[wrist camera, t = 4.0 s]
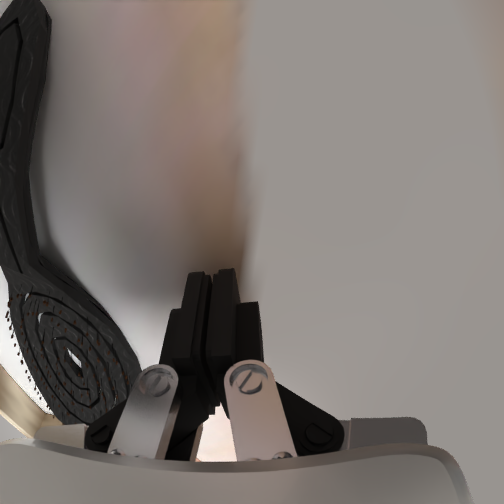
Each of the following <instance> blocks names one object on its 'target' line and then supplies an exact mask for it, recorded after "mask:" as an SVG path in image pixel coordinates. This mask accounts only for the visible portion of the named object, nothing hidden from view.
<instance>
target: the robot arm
mask: <svg viewBox="0 0 504 504" xmlns="http://www.w3.org/2000/svg"><path fill="white" fill-rule="evenodd" d="M220 402H221V404H222V406H223V409H224V411H225V413H226V416H227V418H228V419H230V423H231V429H232V435H233V441H234V446H235V452H236V457H237V462H195V461H196V456H197V452H198V448H199V444H200V439H201V435H202V431H203V422H205V421H206V420H207V419H208V418H209V415H215V407H217V406H220ZM0 504H474V503H473V499H472V496H471V493H470V490H469V487H468V484H467V481H466V479H465V476H464V474H463V472H462V470H461V468H460V466H459V464H458V463H457V461H456V460H455V459H454V457H453V456H452V455H451V454H450V453H448V452H447V451H445V450H444V449H442V448H439V447H435V446H431V445H428V443H427V431H426V428H425V426H424V424H423V423H422V422H421V421H420V420H418V419H416V418H413V417H393V418H351V420H337V419H336V418H335V417H333V416H332V415H330V414H328V413H326V412H325V411H323V410H321V409H320V408H318V407H316V406H315V405H313V404H311V403H309V402H308V401H306V400H305V399H303V398H301V397H300V396H298V395H296V394H295V393H293V392H292V391H290V390H288V389H287V388H285V387H284V386H282V385H281V384H279V383H277V382H276V381H275V379H274V376H273V373H272V371H271V369H270V367H268V366H267V365H266V364H265V363H264V355H263V341H262V329H261V320H260V312H259V305H258V301H257V302H247V303H241V302H240V297H239V291H238V286H237V280H236V275H235V270H234V268H231V269H221V270H219V273H218V274H214V276H213V284H212V280H211V276H210V275H205V273H204V271H202V272H192V273H189V274H188V278H187V282H186V287H185V292H184V296H183V301H182V305H181V308H179V309H172V310H171V313H170V316H169V320H168V325H167V329H166V333H165V338H164V342H163V346H162V351H161V356H160V360H159V364H156V365H153V366H149V367H148V368H146V369H144V370H143V371H142V372H141V373H140V374H139V375H138V377H137V379H136V381H135V383H134V385H133V388H132V390H131V393H130V395H129V397H128V398H127V399H125V400H124V401H122V402H121V403H119V404H118V405H117V406H115V407H114V408H112V409H111V410H110V411H108V412H107V413H105V414H104V415H102V416H101V417H99V418H98V419H97V420H95V421H94V422H93V423H91V424H90V425H89V426H86V425H85V424H75V425H60V426H45V427H41V428H40V429H39V430H37V432H36V433H35V435H34V438H33V439H31V438H17V439H11V440H6V441H3V442H1V443H0Z"/></svg>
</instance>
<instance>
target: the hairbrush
mask: <svg viewBox="0 0 504 504" xmlns="http://www.w3.org/2000/svg"><path fill="white" fill-rule="evenodd" d="M46 15H47V18H48V21H49V25H48V29H47V26H46ZM51 24H52V20H51V18H50V16H49V14H48V12H47V10H46V8H45V6H44V5H43V4H42V3H41V1H40V0H13V1H12V2H11V4H10V5H9V6H8V8H7V9H6V11H5V12H4V13H3V15H2V16H1V18H0V266H1V268H2V271H3V273H4V275H5V278H6V280H7V282H8V291H9V302H8V305H7V306H8V307H9V308H10V316H9V317H11V321H12V323H11V326H10V327H9V329H10V330H11V329H12V328H11V327H12V324H13V328H14V330H13V333H14V331H15V334H16V337H17V340H18V343H19V346H20V349H21V352H22V357H24V360H25V362H26V364H27V366H28V369H29V371H30V373H31V375H32V377H33V379H34V381H35V388H34V391H35V390H36V385H37V387H38V389H39V391H40V392H41V394H42V396H43V397H44V399H45V401H46V402H47V406H46V407H47V408H48V406H49V407H50V408H49V410H50V409H51V410H52V412H53V413H54V415H55V417H56V418H57V419H58V420H59V421H60V422H62V425H75V424H85V425H86V426H89V425H90V424H91V423H93V422H94V421H95V420H97V419H98V418H99V417H101V416H102V415H104V414H105V413H107V412H108V411H110V410H111V409H112V406H113V403H114V401H115V397H116V399H117V400H116V405H115V406H117V405H118V404H119V403H121V402H122V401H124V400H125V399H127V398H128V397H129V395H130V393H131V390H132V388H133V385H134V383H135V381H136V379H137V377H138V375H139V374H140V373H141V372H142V371H141V368H140V364H139V361H138V359H137V357H136V355H135V354H134V352H133V350H132V349H131V347H130V345H129V344H128V342H127V340H126V339H125V337H124V335H123V333H122V332H121V330H120V328H119V327H118V326H117V325H116V324H115V323H114V321H113V320H112V318H111V317H110V316H109V314H108V313H107V311H106V310H105V309H104V308H103V307H102V306H101V305H100V304H99V303H98V302H97V301H96V300H95V299H93V298H92V297H91V296H90V295H89V294H87V293H86V292H85V291H84V290H83V289H81V288H80V287H79V286H78V285H77V284H76V283H74V282H73V281H72V280H71V279H69V278H68V277H67V276H66V275H64V274H63V273H62V272H61V271H59V270H58V269H57V268H56V267H54V266H53V265H52V264H51V263H49V262H48V261H47V260H46V259H45V258H43V257H42V256H41V255H40V252H39V247H38V242H37V236H36V230H35V224H34V217H33V210H32V202H31V194H30V184H29V165H30V157H31V149H32V143H33V136H34V130H35V125H36V120H37V115H38V110H39V105H40V101H41V96H42V92H43V88H44V84H45V77H46V65H47V56H48V48H49V40H50V33H51ZM27 293H29V296H28V297H27V299H26V301H25V296H26V294H27ZM88 299H89V300H90V301H91V302H93V303H94V304H95V305H97V306H98V307H99V308H101V309H102V310H103V311H104V312H105V314H106V315H107V316H108V317H109V318H110V319H111V320H112V321H111V320H110V319H109V318H108V317H107V316H105V315H104V314H103V313H102V312H101V311H100V310H99V309H98V308H97V307H96V306H94V305H93V304H92V303H91V302H90V301H89V300H88ZM8 311H9V310H8ZM8 311H7V313H6V317H5V318H7V317H8V314H9V312H8ZM39 313H43V314H41V318H40V323H39V321H38V315H39ZM8 321H9V318H8V319H7V322H8ZM11 338H13V334H12V335H11ZM54 338H56V339H54ZM15 346H16V343H15V344H14V347H15ZM67 348H68V349H69V350H70V351H71V356H69V353H68V349H67ZM20 349H19V351H20ZM72 353H73V354H74V355H75V356H76V357H77V358H78V359H79V360H80V361H81V365H82V368H80V367H79V366H78V365H77V364H76V363H75V362H74V361H73V360H72V359H71V358H72ZM19 354H20V353H19V352H18V354H17V355H18V356H19ZM70 357H71V358H70ZM20 362H21V363H22V364H23V360H21V361H20ZM22 364H21V365H22ZM77 367H78V368H79V369H80V370H81V371H79V369H78V368H77ZM25 373H27V370H26V372H25ZM29 378H31V376H28V379H29ZM29 381H31V379H29ZM100 389H101V394H100V397H98V395H99V392H100ZM38 394H39V392H38ZM40 400H41V397H40ZM53 419H54V416H53Z"/></svg>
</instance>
